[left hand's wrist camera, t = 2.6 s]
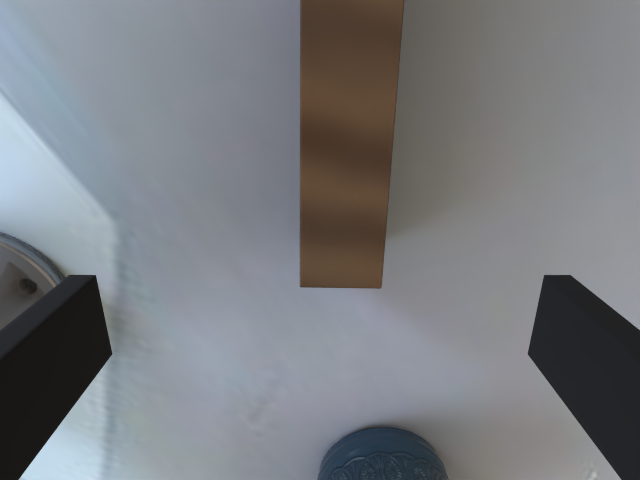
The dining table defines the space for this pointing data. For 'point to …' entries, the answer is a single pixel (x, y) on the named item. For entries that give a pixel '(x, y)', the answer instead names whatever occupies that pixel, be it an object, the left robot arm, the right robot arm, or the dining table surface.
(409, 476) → the canister
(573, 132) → the dining table surface
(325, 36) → the post
